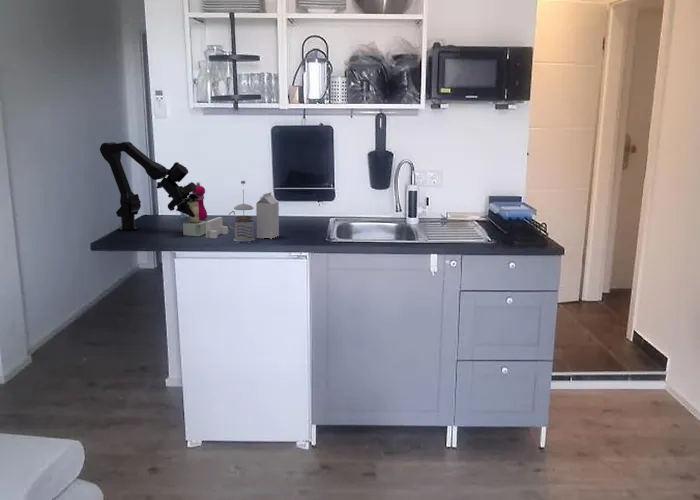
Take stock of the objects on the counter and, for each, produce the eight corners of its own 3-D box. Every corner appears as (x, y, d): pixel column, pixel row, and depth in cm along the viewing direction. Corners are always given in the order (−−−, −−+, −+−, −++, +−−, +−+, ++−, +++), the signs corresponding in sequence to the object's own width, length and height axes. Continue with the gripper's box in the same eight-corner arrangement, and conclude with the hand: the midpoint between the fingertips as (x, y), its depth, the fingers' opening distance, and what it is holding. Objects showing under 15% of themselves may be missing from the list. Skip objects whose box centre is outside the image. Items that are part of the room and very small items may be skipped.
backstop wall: (206, 237, 270) (205, 221, 268) (219, 232, 281) (218, 217, 280) (215, 238, 269) (215, 222, 267) (228, 233, 280) (227, 217, 278)
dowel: (188, 230, 277) (186, 202, 274) (195, 229, 280) (194, 201, 277) (194, 231, 275) (192, 203, 272) (201, 230, 278) (200, 202, 275)
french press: (256, 242, 262) (255, 181, 257) (227, 243, 260) (226, 181, 255) (255, 237, 272) (254, 179, 266) (228, 238, 270) (226, 179, 264)
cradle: (183, 235, 274) (182, 223, 273) (193, 231, 282) (193, 220, 281) (199, 236, 272) (198, 224, 271) (208, 232, 281) (208, 221, 280)
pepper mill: (203, 226, 296) (202, 183, 291) (189, 225, 297) (187, 182, 293) (210, 223, 303) (208, 181, 298) (195, 222, 304) (194, 181, 300)
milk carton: (279, 236, 275) (278, 192, 271) (271, 239, 268) (271, 194, 264) (264, 235, 277) (263, 191, 273) (256, 238, 270) (255, 193, 266)
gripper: (172, 178, 264) (197, 206, 264) (195, 174, 282) (218, 200, 282) (157, 196, 268) (181, 224, 268) (179, 191, 286) (202, 217, 285)
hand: (196, 215), depth 275 cm, fingers closed on dowel, 4 cm apart
